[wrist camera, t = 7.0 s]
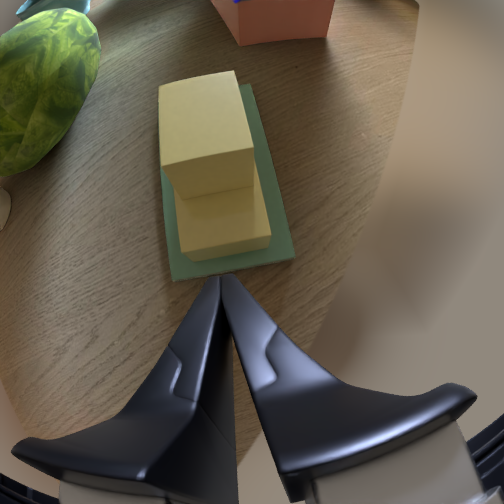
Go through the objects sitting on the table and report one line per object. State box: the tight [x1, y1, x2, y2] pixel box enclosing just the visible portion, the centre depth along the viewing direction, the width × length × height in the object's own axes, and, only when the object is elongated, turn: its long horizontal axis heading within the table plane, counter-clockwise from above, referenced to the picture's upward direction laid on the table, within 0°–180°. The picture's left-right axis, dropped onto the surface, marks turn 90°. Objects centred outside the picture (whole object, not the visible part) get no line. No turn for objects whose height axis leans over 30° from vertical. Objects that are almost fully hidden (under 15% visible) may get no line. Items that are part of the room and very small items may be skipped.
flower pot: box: [16, 0, 90, 21], centre depth 25 cm, size 16×16×11 cm
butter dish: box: [158, 84, 296, 282], centre depth 20 cm, size 17×9×4 cm, turn 11°
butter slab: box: [159, 70, 254, 200], centre depth 16 cm, size 6×5×4 cm
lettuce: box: [0, 8, 101, 177], centre depth 18 cm, size 16×21×15 cm
